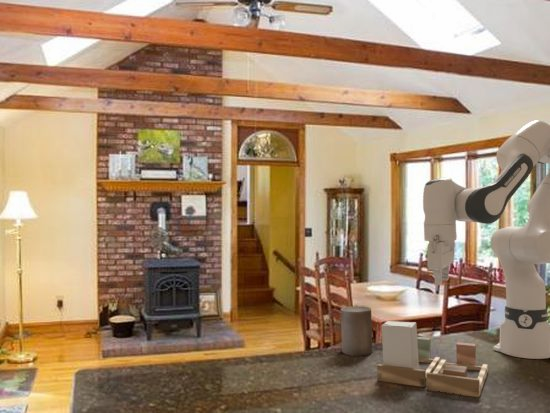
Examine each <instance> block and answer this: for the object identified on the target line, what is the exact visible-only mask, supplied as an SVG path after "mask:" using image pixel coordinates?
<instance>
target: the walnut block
mask: <svg viewBox="0 0 550 413" xmlns="http://www.w3.org/2000/svg"><path fill="white" fill-rule="evenodd" d="M442 374H444V375H452V376H460V377H468V369H467V367H464V366H456V365H448V364H447V365H446V366H445V368H444V369H443V373H442Z"/></svg>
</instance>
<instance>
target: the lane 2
mask: <svg viewBox="0 0 550 413" xmlns="http://www.w3.org/2000/svg"><path fill="white" fill-rule="evenodd" d="M455 345H456V350H455V351H456V352H455V353H456V363H455V362H453V363H452V362H447V359H443V358H442V359H440V360H441V361H440V363H439V364H438V366H437V367H436V369H435V370H434V372H433V373H428V372H427V385H426V390H427V391H431V392H438V391H440V393H441V392H442V393H445V392H446V393H447V394H453V393H454V394H455V395H460V394H461V396H468V397H475V398H480V396H481V394H482V391H483V390H482V389H483V386H484V385H485V381H486V379H487V376H488V373H489V364H486V363H482V366H481V365H477V349H476V348H477V344H476V343H469V342H459V341H457V342H456V344H455ZM447 364H448V365H456V366H464V367H467V370H469V371H470V370H471V371H479V374H478V376H477V378H476V377H475V378H474V377H468V376H467V377H460V376H452V375H444V374H443V369H444V368H445V366H446V365H447ZM454 394H453V395H454Z"/></svg>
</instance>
